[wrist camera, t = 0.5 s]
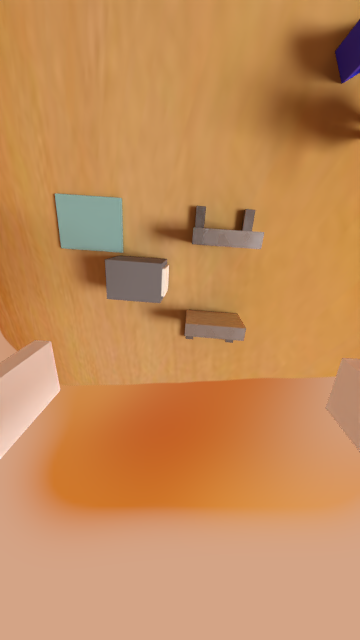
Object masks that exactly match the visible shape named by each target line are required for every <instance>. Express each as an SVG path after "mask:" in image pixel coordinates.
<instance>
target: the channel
mask: <svg viewBox="0 0 360 640" xmlns="http://www.w3.org/2000/svg"><path fill="white" fill-rule="evenodd" d="M205 212H206V207H204V206H197V209H196V221H195V228H194V227H193V238H192V244H197V245H211V246H225V247H239V248H252V249H261V247H262V241H263V236H264V232H252V227H253V221H254V215H255V210H249V209H246V210H244V216H243V222H242V229H241V231H237V230H223V229H209V228H204V222H205ZM245 331H246V328H245V326H244V324H243V322H242V321H241V319H240V317H239V316H238V314H235V313H222V312H210V311H198V310H187V313H186V324H185V336H186V339H193V337H205V338H217V339H225V342H231V343H233V340H240V341H244V337H245Z"/></svg>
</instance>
